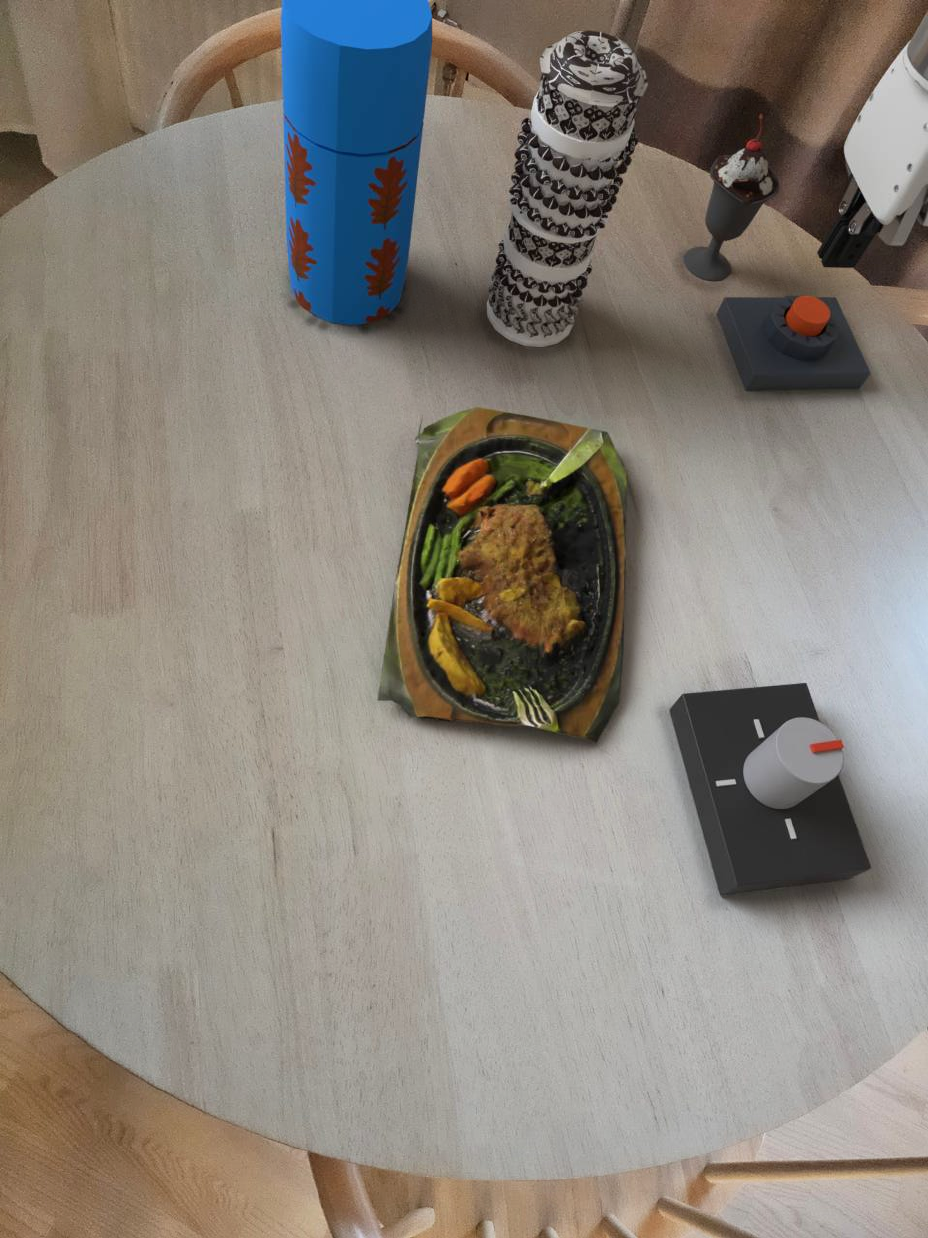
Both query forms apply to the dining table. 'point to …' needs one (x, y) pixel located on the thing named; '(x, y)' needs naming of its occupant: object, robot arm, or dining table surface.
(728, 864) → the dial panel
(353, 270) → the thermos
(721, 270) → the sundae
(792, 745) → the knob
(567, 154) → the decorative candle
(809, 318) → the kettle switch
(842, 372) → the switch block
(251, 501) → the dining table surface
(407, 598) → the prepared meal
